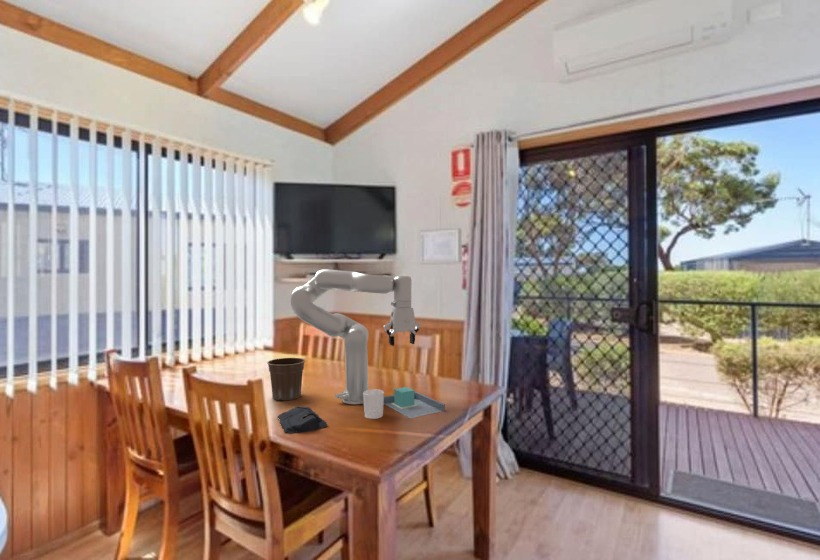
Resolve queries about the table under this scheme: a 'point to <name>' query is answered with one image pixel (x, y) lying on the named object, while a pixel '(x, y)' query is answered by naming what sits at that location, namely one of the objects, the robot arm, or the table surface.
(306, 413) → the dark slate chunk
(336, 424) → the table surface
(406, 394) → the teal cube
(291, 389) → the plant pot
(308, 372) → the table surface
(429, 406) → the tray
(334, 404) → the table surface
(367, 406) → the white cup
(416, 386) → the table surface
